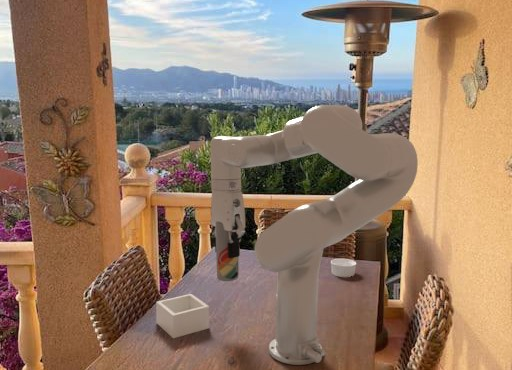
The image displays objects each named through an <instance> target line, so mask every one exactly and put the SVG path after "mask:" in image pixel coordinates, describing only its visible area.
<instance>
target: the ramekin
mask: <svg viewBox="0 0 512 370" xmlns="http://www.w3.org/2000/svg"><path fill="white" fill-rule="evenodd" d="M330 266H331V274H332V275H333V276H334V277H338V278H350V277H351V276H352V277H354V276H355V274H356V266H357V262H356V261H355V260H353V259H350V258H334V259H332V260H331V261H330ZM352 277H351V278H352Z"/></svg>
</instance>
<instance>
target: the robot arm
mask: <svg viewBox="0 0 512 370" xmlns="http://www.w3.org/2000/svg"><path fill="white" fill-rule="evenodd" d="M314 154H319V155H320V156H322V157H323V158H324V159H326V160H327V161H329V162H331V163H332V164H333V165H334V166H336V167H337V168H339V169H340V170H341V171H343V172H345V173H346V174H348V175H349V176H351V177H353V178H355V179H357V180H355V181H354V182H352V183H350V184H349V185H347V186H346V187H345V188H343V189H342V190H340V191H339V192H338V193H336V194H334V195H332V196H331V197H328V198H325V199H321V200H317V201H313V202H310V203H306V204H303V205H300V206H298V207H296V208H294V209H293V210H291V211H290V212H288V213H287V214H285V215H284V216H282V217H281V218H280V219H278V220H277V221H275V222H274V223H272V224H271V225H270V226H268V227H267V228H265V229H264V230H263V231H262V232H261V233H260V234H259V235H258V237H257V239H256V241H255V245H254V255H255V259H256V261H257V263H258V264H259V265H260V266H261V267H262V268H263V269H265V270H267V271H269V272H273V273H277V276H276V277H277V279H276V300H275V301H276V305H275V306H276V308H275V309H276V310H275V338H274V339H273V340H271V341H270V342H269V345H268V353H269V354H270V356H271V357H272V358H273V359H275V360H276V361H279V362H281V363H283V364H286V365H287V364H288V365H293V366H303V365H304V366H305V365H310V364H312V363H316V364H317V363H318V364H319V363H320V362H321V361H322V358H323V357H324V356H325V355H326V350H324V348H323V347H322V344H321V343H320V338H319V337H317V331H318V330H317V326H318V325H317V324H318V300H319V278H320V270H321V269H320V268H321V262H322V258H323V253H324V249H325V248H328V247H331V246H332V245H335V244H337V243H339V242H341V241H343V240H344V239H346V238H347V237H348V236H350V235H351V234H353V233H354V232H356V231H357V230H359V229H361V228H363V227H365V226H366V225H368V224H369V223H370V222H372V221H373V220H375V219H377V218H378V217H380V216H381V215H383V214H385V213H386V212H387V211H389V210H390V209H393V207H395V206H396V205H397V204H399V202H401V201H402V199H404V198H405V196H406V195H407V194H408V193H409V191H410V189H411V188H412V186H413V184H414V183H415V179H416V177H417V172H418V154H417V150H416V147H415V146H414V144H413V143H412V142H411V141H410V139H408V138H407V137H405V136H403V135H402V134H401V135H400V134H397V133H391V132H389V133H372V134H371V133H369V132H367V131H365V130H364V129H363V121H362V118H361V116H360V114H359V113H358V111H356V110H355V109H354V108H352V107H350V106H348V105H343V104H342V105H341V104H337V105H336V104H333V105H332V104H322V105H320V104H319V105H315V106H314V107H311V108H310V109H308V110H307V111H306V112H305V113H304V115H302V116H298V117H296V118H293V119H291V120H289V121H287V122H286V123H285V125H284V127H283V129H282V130H280V131H276V132H273V133H268V134H264V135H246V136H231V135H230V136H229V135H226V136H225V135H224V136H214V137H212V139H211V140H210V174H211V175H210V177H211V178H210V179H211V181H210V183H211V198H210V199H211V200H210V225H211V226H212V230H213V237H214V244H215V245H214V247H215V251H214V252H215V253H216V222H220V223H222V224H223V226H224V230H226V231H228V238H229V243H228V258H234V257H238V258H239V257H240V256H241V254H240V253H241V251H240V243H241V240H242V238H243V236H244V234H245V233H246V231H245V230H246V229H245V228H246V212H245V201H244V195H243V192H242V169H247V168H255V167H261V166H263V167H264V166H270V165H273V164H278V163H281V162H285V161H290V160H293V159H299V158H303V157H306V156H311V155H314ZM234 227H236V229H235V230H233V229H232V228H234ZM233 232H235V234H234V235H233V236H232V233H233Z"/></svg>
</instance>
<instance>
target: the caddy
mask: <svg viewBox="0 0 512 370" xmlns="http://www.w3.org/2000/svg"><path fill="white" fill-rule="evenodd" d="M155 304H156V306H155V307H156V312H155V313H156V324H157V325H158V326H159V327H160V328H161V329H162V330H164V331H165V333H167V334H168V335H169V336H170V337H171V338H172V339H177V338H180V337H183V336H187V335H189V334H193V333H197V332H201V331H204V330H207V329H210V306H209V305H208V304H207V303H205V302H204V301H202V300H201V299H199V298H198V297H197V296H195V295H194V294H192V293H189V294H184V295H180V296H175V297H171V298H167V299H161V300H158V301H156V302H155Z"/></svg>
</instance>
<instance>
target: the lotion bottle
mask: <svg viewBox="0 0 512 370" xmlns="http://www.w3.org/2000/svg"><path fill="white" fill-rule="evenodd" d="M232 229H233V230H235V229H236V227H234V228H232ZM234 234H235V232H233V233H232V236H233V235H234ZM215 238H216V252H215V253H216V257H215V258H216V262H215V263H216V279H217V280H218V281H221V282H232V281H237V280H238V279H239V274H240V273H239V267H240V266H239V257H234V258H228V243H229V238H228V231H226V230H224V226H223V224H222V223H220V222H216V237H215Z"/></svg>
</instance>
